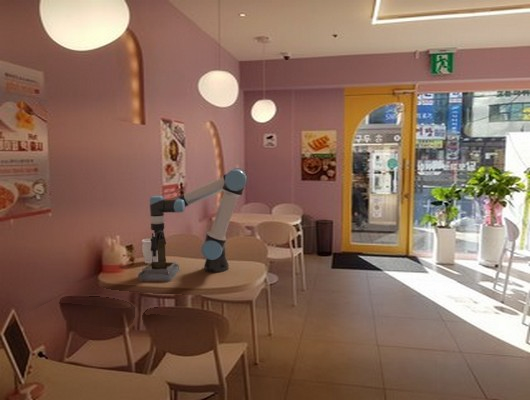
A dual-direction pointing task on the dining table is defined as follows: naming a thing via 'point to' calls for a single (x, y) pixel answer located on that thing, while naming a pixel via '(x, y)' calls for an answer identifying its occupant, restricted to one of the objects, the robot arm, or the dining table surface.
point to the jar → (147, 250)
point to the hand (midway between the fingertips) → (159, 258)
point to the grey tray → (159, 273)
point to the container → (160, 255)
